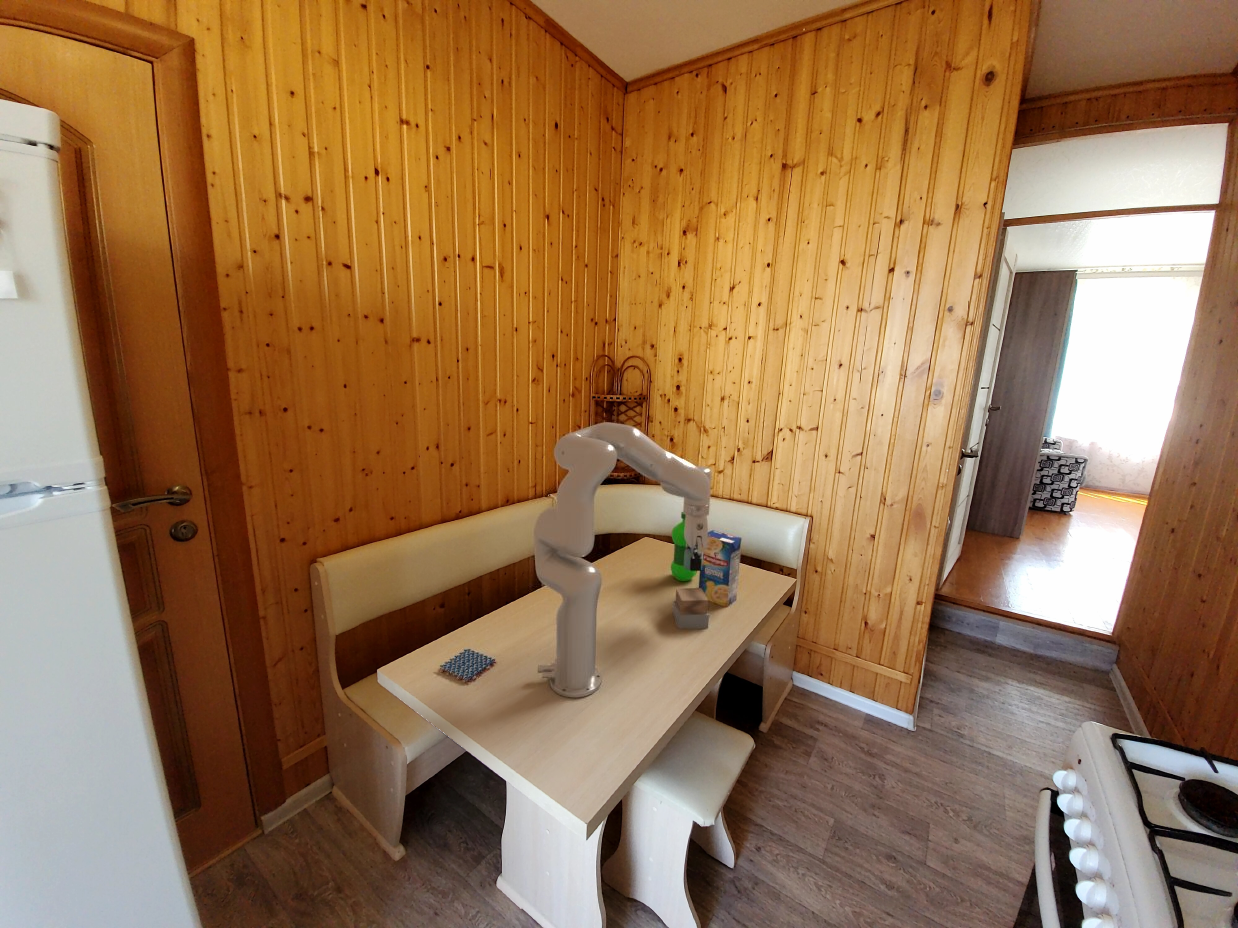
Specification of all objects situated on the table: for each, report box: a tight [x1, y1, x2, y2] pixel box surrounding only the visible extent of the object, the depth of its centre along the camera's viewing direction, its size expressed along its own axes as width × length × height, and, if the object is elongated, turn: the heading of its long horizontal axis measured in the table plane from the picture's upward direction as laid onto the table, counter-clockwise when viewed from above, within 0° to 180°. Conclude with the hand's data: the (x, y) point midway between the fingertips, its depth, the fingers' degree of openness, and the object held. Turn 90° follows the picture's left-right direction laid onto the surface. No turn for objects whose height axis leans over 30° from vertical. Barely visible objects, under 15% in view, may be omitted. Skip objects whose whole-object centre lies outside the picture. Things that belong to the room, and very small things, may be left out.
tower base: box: [672, 600, 710, 630], centre depth 151 cm, size 9×9×4 cm
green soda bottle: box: [670, 511, 698, 582], centre depth 179 cm, size 10×10×25 cm
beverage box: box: [698, 529, 742, 608], centre depth 165 cm, size 7×11×22 cm, turn 50°
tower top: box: [674, 587, 709, 615], centre depth 150 cm, size 8×8×4 cm
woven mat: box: [439, 648, 497, 685], centre depth 125 cm, size 10×11×2 cm
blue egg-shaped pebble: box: [684, 548, 703, 571], centre depth 148 cm, size 6×6×5 cm
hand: (692, 565), depth 148 cm, fingers closed on blue egg-shaped pebble, 5 cm apart
